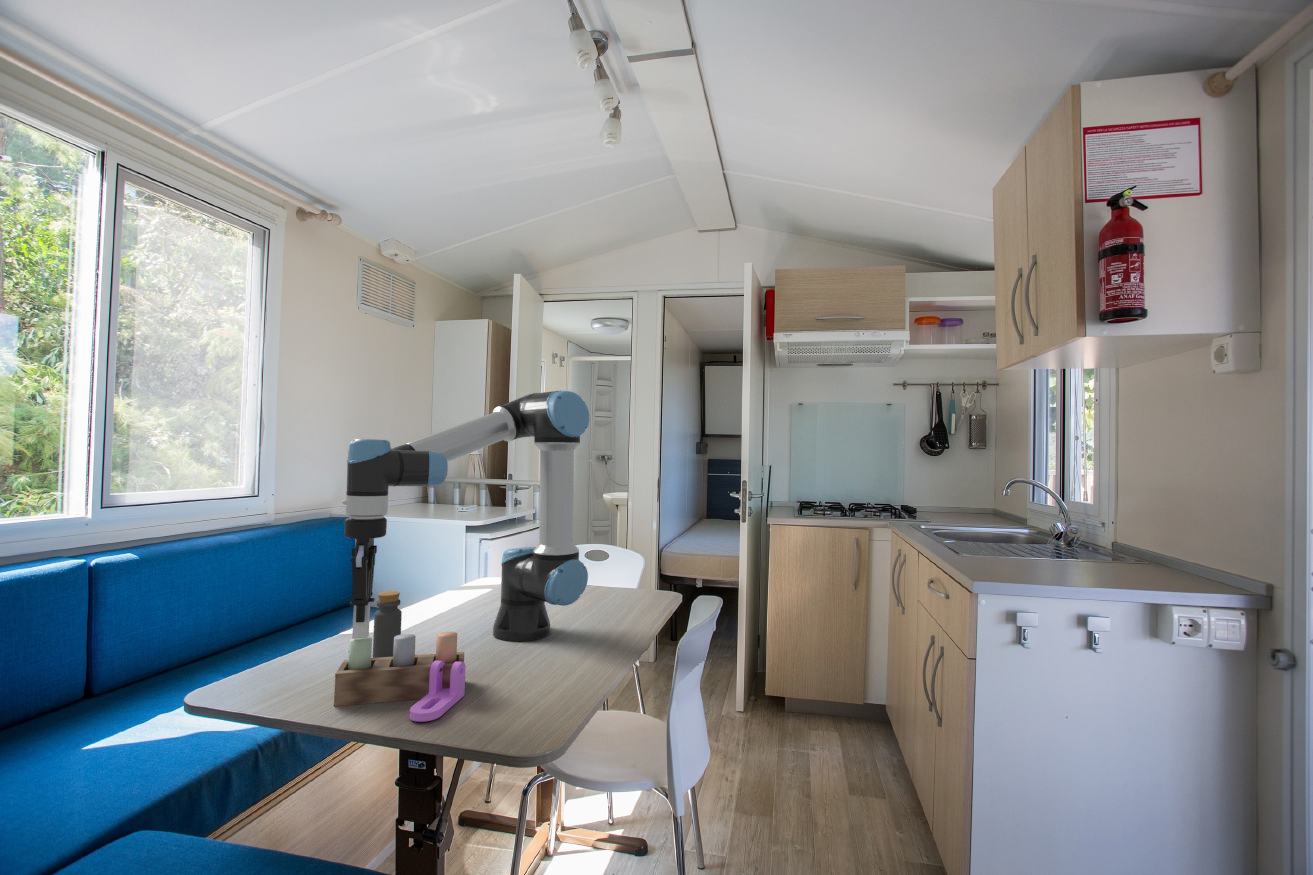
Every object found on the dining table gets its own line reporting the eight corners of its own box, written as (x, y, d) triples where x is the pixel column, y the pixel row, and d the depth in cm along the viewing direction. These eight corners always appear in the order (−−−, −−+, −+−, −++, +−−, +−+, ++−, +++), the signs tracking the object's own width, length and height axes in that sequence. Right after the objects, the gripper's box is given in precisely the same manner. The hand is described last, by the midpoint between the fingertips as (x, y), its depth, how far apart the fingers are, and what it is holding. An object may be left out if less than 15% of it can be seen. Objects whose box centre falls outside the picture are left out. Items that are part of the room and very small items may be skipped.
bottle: (389, 663, 135) (392, 596, 136) (366, 660, 137) (369, 594, 137) (405, 654, 141) (407, 591, 142) (383, 652, 142) (385, 589, 143)
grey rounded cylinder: (415, 665, 122) (416, 633, 122) (413, 672, 118) (414, 639, 118) (393, 667, 120) (395, 634, 121) (391, 673, 117) (392, 640, 117)
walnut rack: (463, 680, 126) (464, 651, 126) (462, 694, 118) (463, 664, 119) (342, 690, 119) (344, 659, 120) (333, 706, 112) (335, 673, 112)
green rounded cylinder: (372, 668, 119) (373, 635, 119) (368, 675, 115) (370, 641, 116) (350, 670, 118) (351, 636, 118) (346, 677, 114) (347, 643, 114)
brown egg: (456, 662, 124) (457, 631, 124) (455, 669, 120) (457, 636, 120) (436, 664, 123) (437, 632, 123) (434, 670, 119) (436, 637, 119)
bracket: (437, 693, 118) (438, 657, 119) (464, 695, 118) (465, 659, 118) (403, 720, 106) (405, 680, 106) (433, 722, 105) (435, 681, 105)
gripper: (351, 513, 123) (346, 629, 122) (338, 520, 111) (331, 648, 110) (391, 513, 125) (386, 627, 124) (382, 520, 113) (376, 646, 112)
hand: (360, 637), depth 117 cm, fingers closed
